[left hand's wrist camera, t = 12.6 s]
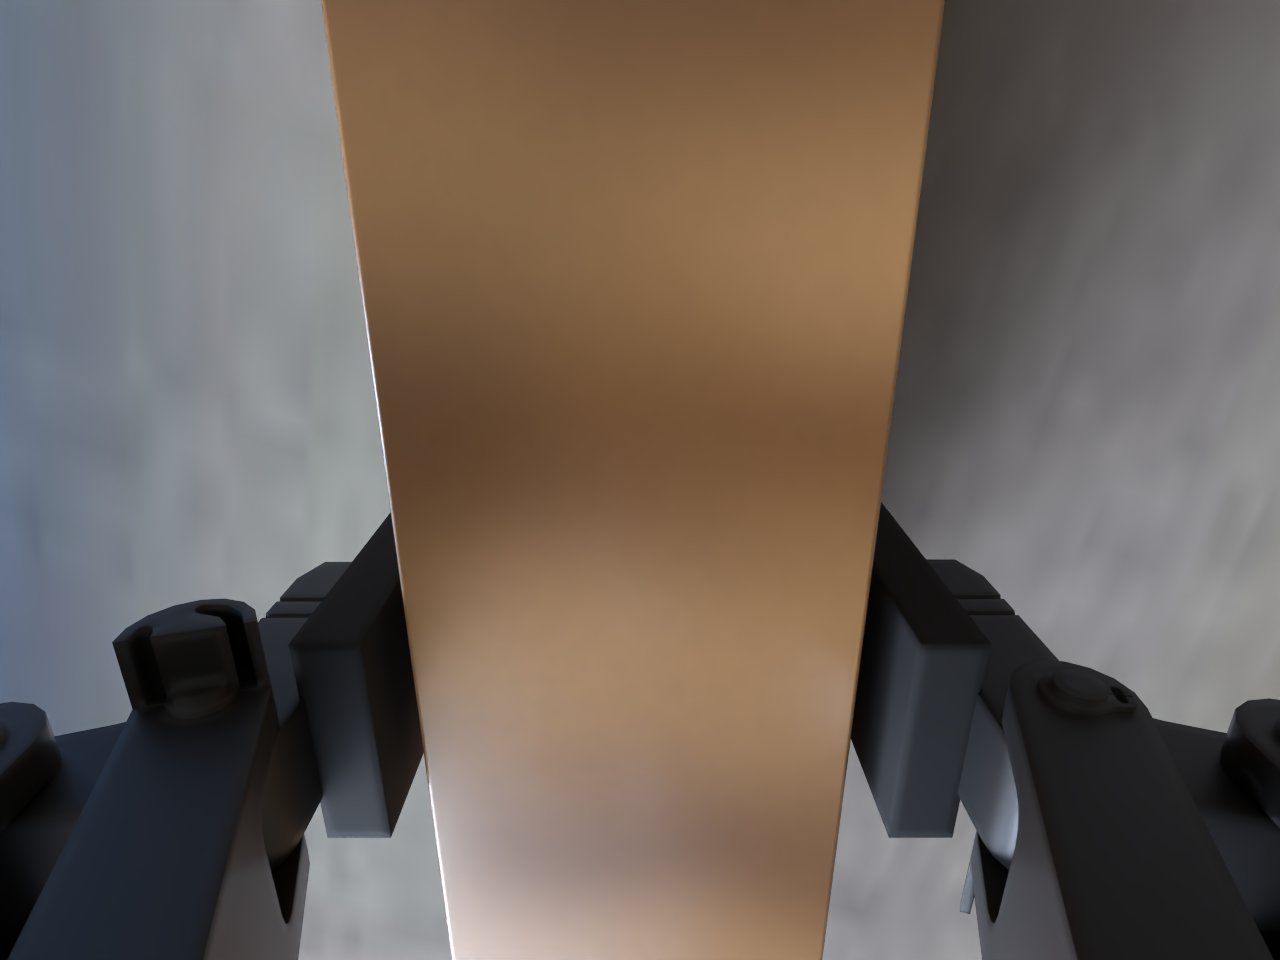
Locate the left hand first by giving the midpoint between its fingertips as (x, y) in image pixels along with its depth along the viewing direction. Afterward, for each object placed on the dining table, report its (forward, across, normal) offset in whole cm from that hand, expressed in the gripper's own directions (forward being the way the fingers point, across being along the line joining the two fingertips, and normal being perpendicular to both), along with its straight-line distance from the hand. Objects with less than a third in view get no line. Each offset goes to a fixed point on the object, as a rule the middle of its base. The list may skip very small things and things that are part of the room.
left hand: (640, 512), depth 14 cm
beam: (+2, 0, -25) cm, 25 cm away
